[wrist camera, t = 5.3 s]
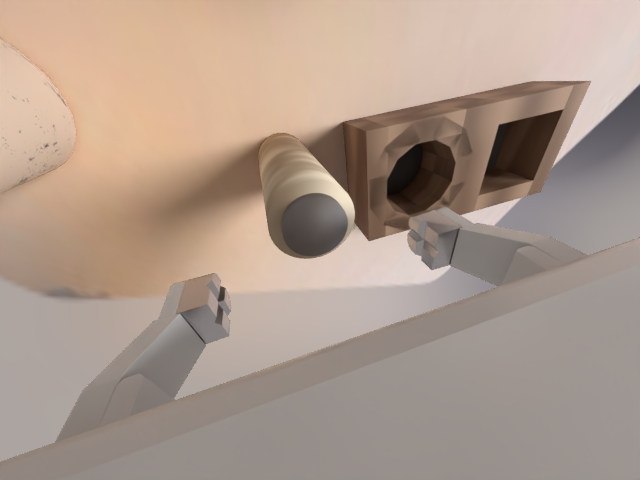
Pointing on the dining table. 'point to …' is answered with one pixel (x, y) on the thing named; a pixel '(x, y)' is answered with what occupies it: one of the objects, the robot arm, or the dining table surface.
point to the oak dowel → (302, 199)
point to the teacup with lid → (30, 121)
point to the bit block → (456, 152)
